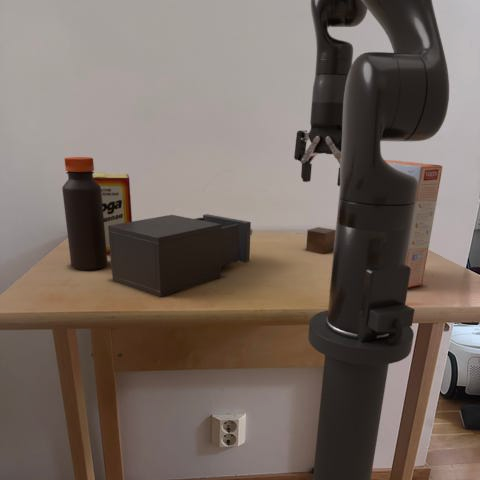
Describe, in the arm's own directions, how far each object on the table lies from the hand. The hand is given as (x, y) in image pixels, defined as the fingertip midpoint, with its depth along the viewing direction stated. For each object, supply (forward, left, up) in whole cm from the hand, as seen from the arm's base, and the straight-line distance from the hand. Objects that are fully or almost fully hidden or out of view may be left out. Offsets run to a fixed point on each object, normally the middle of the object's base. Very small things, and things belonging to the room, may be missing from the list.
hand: (323, 183), depth 104 cm
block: (0, 0, -15) cm, 15 cm away
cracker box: (-22, 0, -15) cm, 27 cm away
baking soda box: (+15, +44, -15) cm, 48 cm away
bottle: (+4, +50, -15) cm, 52 cm away
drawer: (-4, +27, -14) cm, 30 cm away
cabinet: (-9, +38, -15) cm, 41 cm away
